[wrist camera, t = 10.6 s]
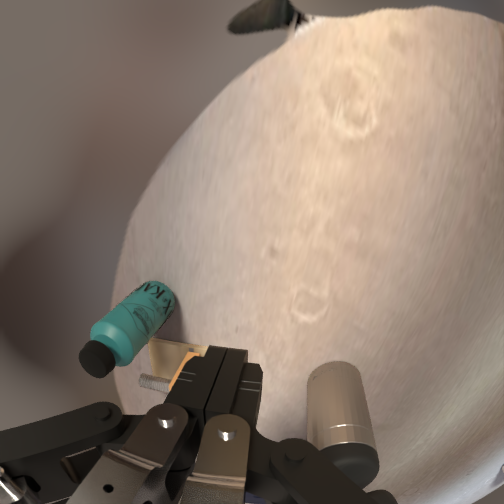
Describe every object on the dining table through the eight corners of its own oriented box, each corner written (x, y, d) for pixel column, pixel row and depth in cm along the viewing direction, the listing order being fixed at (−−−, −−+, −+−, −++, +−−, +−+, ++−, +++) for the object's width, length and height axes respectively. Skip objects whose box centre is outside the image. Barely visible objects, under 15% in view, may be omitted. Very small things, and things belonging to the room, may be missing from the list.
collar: (191, 391, 50) (175, 425, 41) (188, 351, 47) (168, 385, 39) (202, 393, 50) (187, 428, 41) (199, 353, 47) (182, 388, 39)
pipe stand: (156, 380, 52) (137, 411, 44) (149, 337, 50) (126, 366, 41) (228, 393, 51) (217, 429, 42) (228, 349, 48) (215, 384, 39)
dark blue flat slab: (339, 453, 51) (339, 467, 48) (318, 498, 63) (318, 508, 59) (222, 447, 54) (219, 460, 51) (233, 493, 66) (230, 503, 63)
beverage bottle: (165, 320, 48) (103, 398, 29) (135, 292, 47) (61, 358, 28) (188, 296, 46) (127, 375, 27) (156, 266, 45) (79, 329, 26)
